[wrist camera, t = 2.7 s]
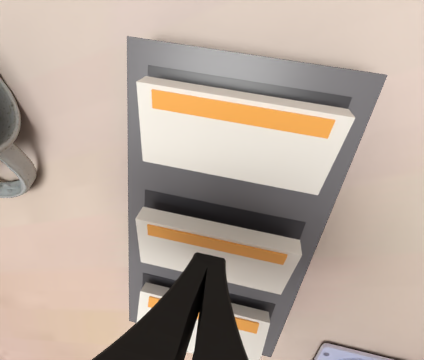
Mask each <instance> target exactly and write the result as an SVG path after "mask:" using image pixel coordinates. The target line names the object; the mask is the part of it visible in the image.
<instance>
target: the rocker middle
mask: <svg viewBox="0 0 424 360" xmlns="http://www.w3.org/2000/svg"><path fill="white" fill-rule="evenodd" d="M135 220H136V228H137V236H138V244H139V252H140V260H141V262H143V263H147V264H151V265H155V266H160V267H164V268H168V269H173V270H177V271H181V272H183V271H184V270H185V268H186V267H187V265H188V264H189V262H190V261H191V259H192V257H193V255H194V254H195V253H197V252H199V253H203V254H208V255H212V256H217V257H221V258H224V259H225V260H226V277H227V282H228V283H233V284H237V285H241V286H245V287H250V288H254V289H258V290H262V291H267V292H271V293H275V294H280V295H281V293H282V292H283V290H284V288H285V286H286V284H287V282H288V280H289V279H290V277H291V275H292V273H293V271H294V269H295V268H296V266H297V264H298V262H299V260H300V258H301V256H302V250H301V243H300V240H298V239H293V238H288V237H284V236H279V235H274V234H270V233H265V232H260V231H255V230H251V229H246V228H241V227H237V226H232V225H227V224H222V223H218V222H213V221H208V220H204V219H199V218H194V217H190V216H185V215H180V214H175V213H171V212H166V211H161V210H157V209H152V208H147V207H142V209H141V210H140V212H139V214H138V215H137V217H136V219H135Z"/></svg>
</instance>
